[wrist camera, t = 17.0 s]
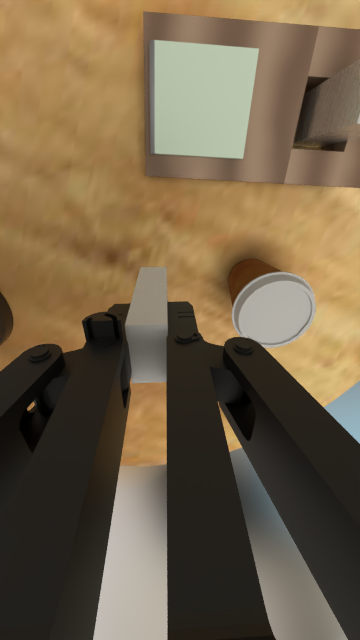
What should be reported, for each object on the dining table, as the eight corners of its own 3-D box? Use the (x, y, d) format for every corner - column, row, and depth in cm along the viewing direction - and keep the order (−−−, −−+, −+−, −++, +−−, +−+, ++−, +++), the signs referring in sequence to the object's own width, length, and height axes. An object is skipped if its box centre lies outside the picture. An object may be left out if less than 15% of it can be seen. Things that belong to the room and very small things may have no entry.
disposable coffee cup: (223, 245, 36) (243, 273, 25) (287, 250, 36) (333, 279, 26) (213, 305, 40) (227, 349, 30) (271, 308, 41) (304, 352, 30)
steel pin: (282, 145, 30) (356, 123, 18) (291, 102, 28) (381, 44, 16) (314, 147, 30) (410, 127, 18) (326, 105, 28) (441, 49, 16)
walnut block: (149, 176, 31) (146, 175, 27) (148, 40, 25) (143, 11, 21) (335, 186, 32) (361, 187, 28) (376, 58, 26) (416, 34, 22)
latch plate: (150, 154, 26) (149, 153, 25) (149, 44, 22) (148, 39, 21) (240, 159, 26) (243, 158, 25) (255, 53, 22) (259, 48, 21)
